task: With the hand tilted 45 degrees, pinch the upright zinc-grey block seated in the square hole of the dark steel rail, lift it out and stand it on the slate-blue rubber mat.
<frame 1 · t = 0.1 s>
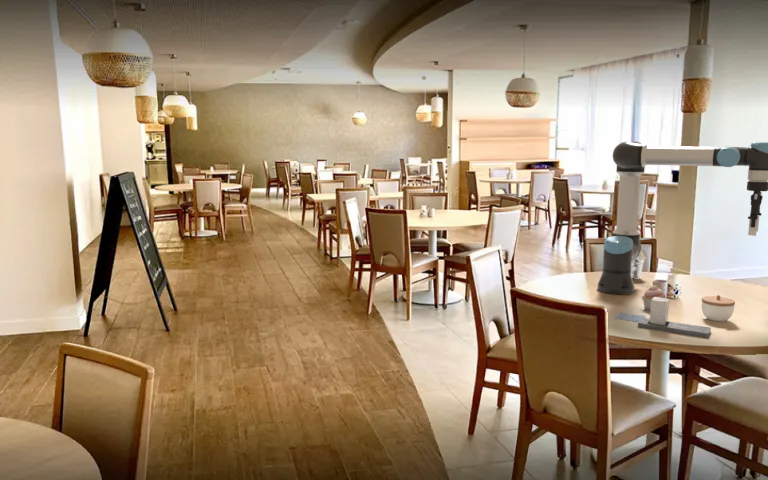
hand: (753, 233, 253), 28 cm above the table, tool pointing down, fingers open, 13 cm apart
cupcake: (653, 310, 243), on the table
mat: (629, 318, 230), on the table
cup with straw: (635, 278, 298), on the table
lidded jar: (716, 320, 229), on the table
nut block: (658, 327, 219), resting on rail
rail: (673, 330, 216), on the table
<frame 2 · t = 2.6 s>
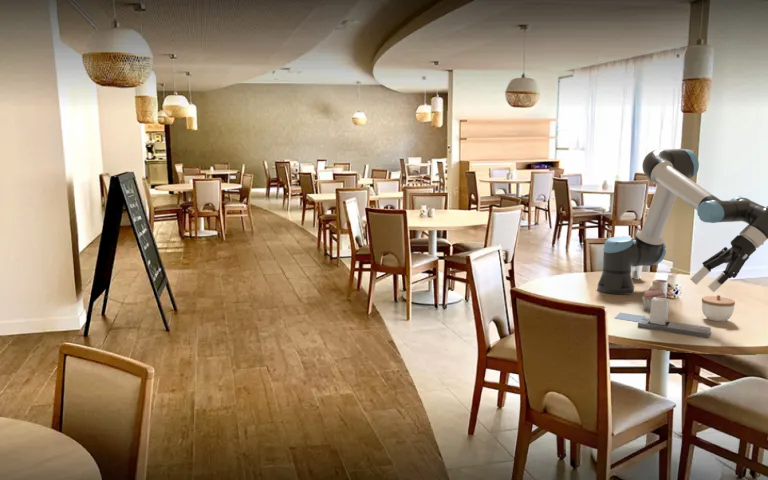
hand: (701, 285, 216), 15 cm above the table, tool tilted 45°, fingers open, 13 cm apart
nothing on the table moved.
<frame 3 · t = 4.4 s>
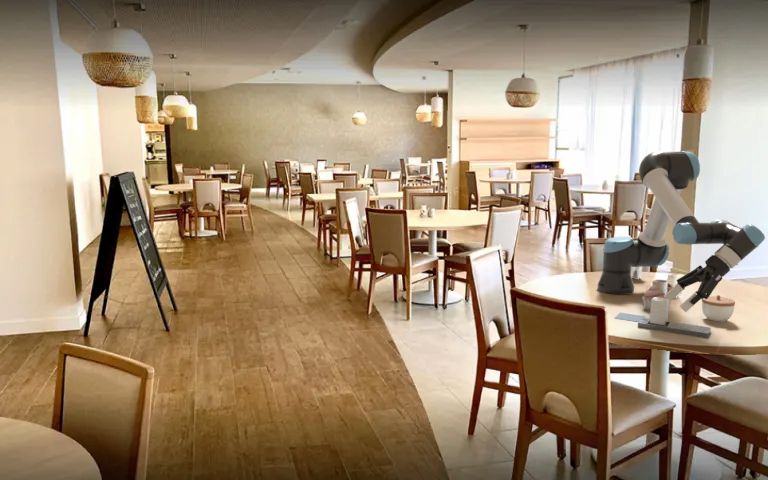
hand: (674, 304, 216), 9 cm above the table, tool tilted 45°, fingers open, 13 cm apart
nothing on the table moved.
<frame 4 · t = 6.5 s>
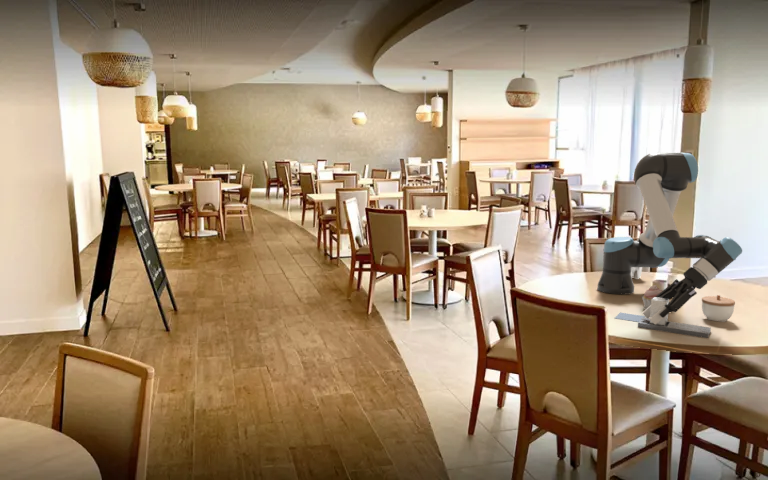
hand: (648, 318, 218), 3 cm above the table, tool tilted 45°, fingers closed on nut block, 7 cm apart
nut block: (658, 327, 219), point 1 cm above the table, touching gripper, rail
everything else where it was.
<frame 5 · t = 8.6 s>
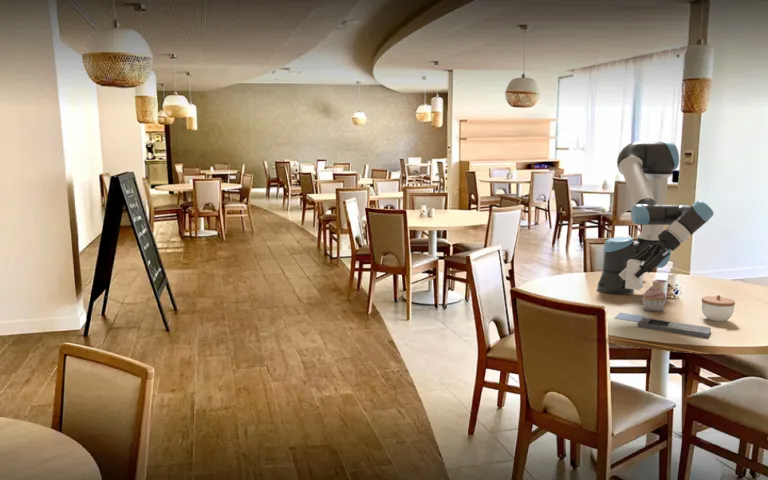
hand: (624, 279, 228), 15 cm above the table, tool tilted 45°, fingers closed on nut block, 7 cm apart
nut block: (633, 287, 228), point 12 cm above the table, touching gripper
everything else where it was.
when the fingers open (5 cm above the table, at t = 11.0 s): nut block drops 1 cm, resting on mat.
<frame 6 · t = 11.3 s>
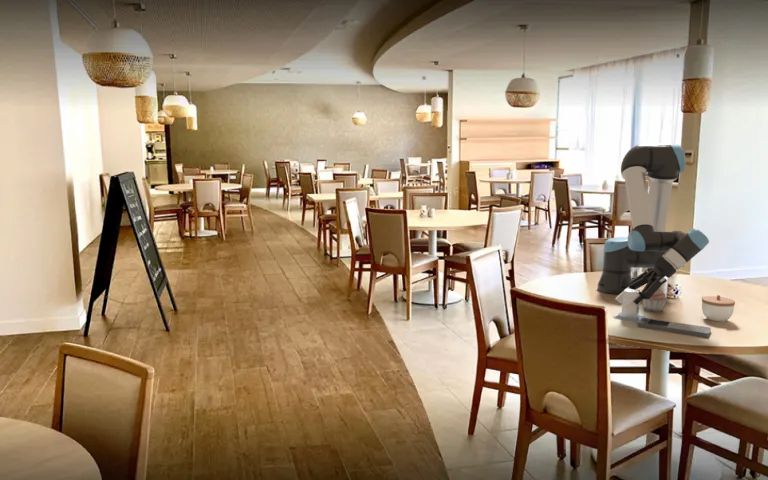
hand: (622, 304, 230), 5 cm above the table, tool tilted 45°, fingers open, 10 cm apart
nut block: (629, 317, 230), point 1 cm above the table, touching mat
everything else where it was.
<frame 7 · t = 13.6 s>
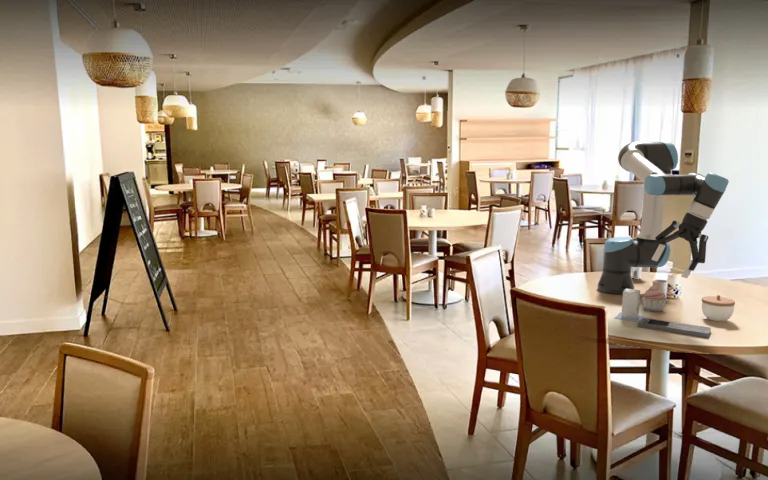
hand: (668, 268, 226), 19 cm above the table, tool tilted 20°, fingers open, 13 cm apart
nothing on the table moved.
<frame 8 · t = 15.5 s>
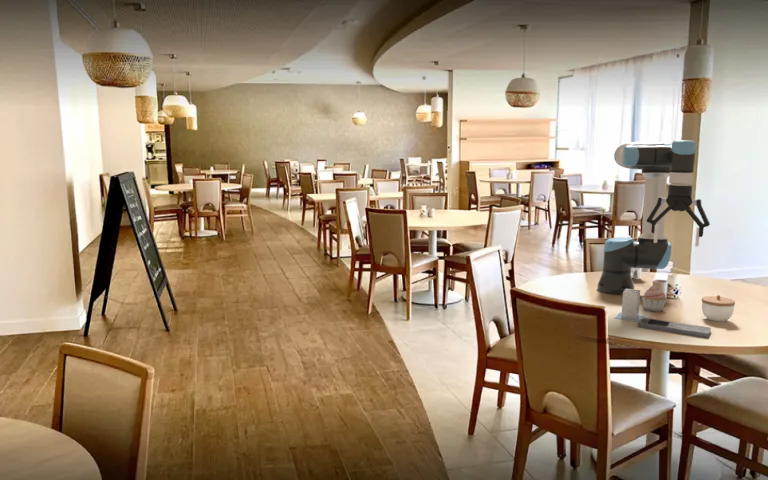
hand: (675, 244, 222), 29 cm above the table, tool pointing down, fingers open, 13 cm apart
nothing on the table moved.
at the end: nut block inside the target area on the mat (0.1 cm from its centre), point 0.6 cm above the mat's base; nut block tilted 0°; the gripper is holding nothing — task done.
